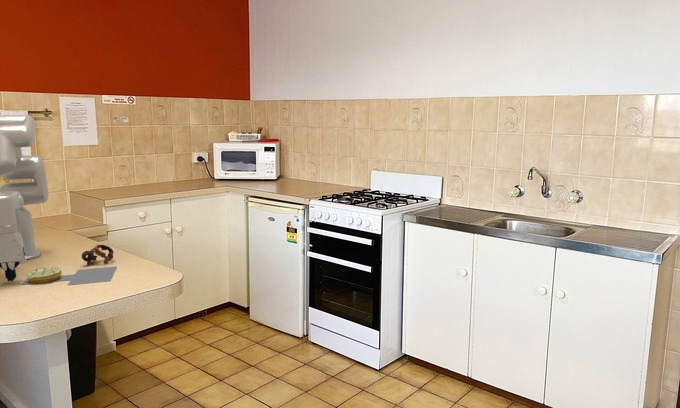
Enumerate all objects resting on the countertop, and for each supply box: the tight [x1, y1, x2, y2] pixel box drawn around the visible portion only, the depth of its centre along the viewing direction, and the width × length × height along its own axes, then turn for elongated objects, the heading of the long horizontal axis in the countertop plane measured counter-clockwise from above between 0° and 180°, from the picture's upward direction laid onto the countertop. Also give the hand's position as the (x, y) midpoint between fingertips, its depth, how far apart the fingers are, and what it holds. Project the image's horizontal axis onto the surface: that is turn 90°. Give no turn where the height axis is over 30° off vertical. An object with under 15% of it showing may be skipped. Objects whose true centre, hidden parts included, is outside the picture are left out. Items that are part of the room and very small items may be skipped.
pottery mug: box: [81, 244, 114, 265], centre depth 211 cm, size 12×10×8 cm
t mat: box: [21, 265, 118, 286], centre depth 194 cm, size 30×19×1 cm, turn 106°
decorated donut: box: [27, 266, 63, 284], centre depth 191 cm, size 10×11×4 cm
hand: (11, 280), depth 188 cm, fingers closed
